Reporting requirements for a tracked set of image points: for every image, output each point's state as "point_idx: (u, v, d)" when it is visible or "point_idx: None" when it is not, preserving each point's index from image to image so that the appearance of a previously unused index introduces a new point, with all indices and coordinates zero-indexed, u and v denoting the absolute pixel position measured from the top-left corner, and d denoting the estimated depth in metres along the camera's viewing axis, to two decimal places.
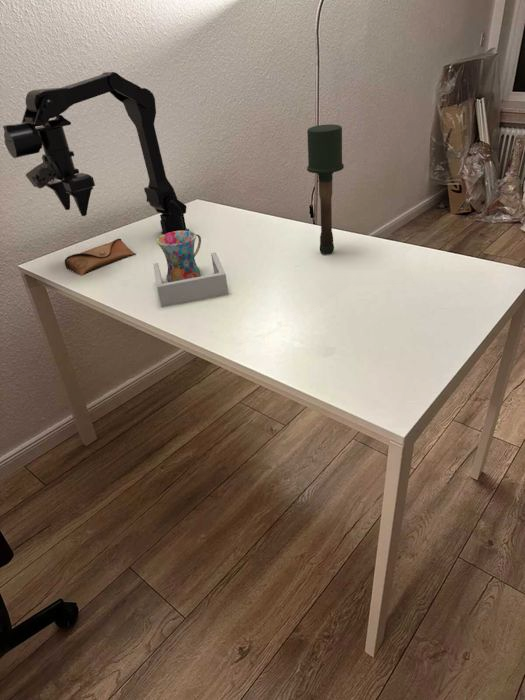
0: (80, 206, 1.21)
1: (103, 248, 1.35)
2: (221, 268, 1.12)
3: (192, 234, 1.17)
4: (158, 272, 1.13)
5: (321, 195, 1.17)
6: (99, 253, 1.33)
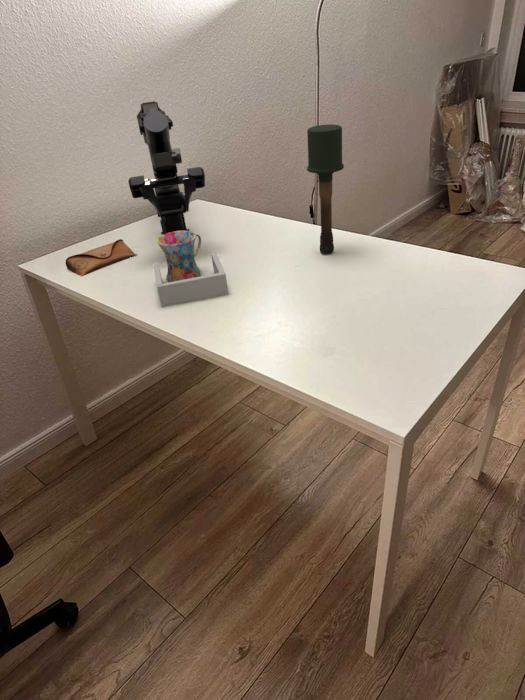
0: (189, 199, 1.22)
1: (104, 249, 1.34)
2: (221, 268, 1.12)
3: (192, 234, 1.17)
4: (158, 272, 1.13)
5: (321, 195, 1.17)
6: (100, 254, 1.33)
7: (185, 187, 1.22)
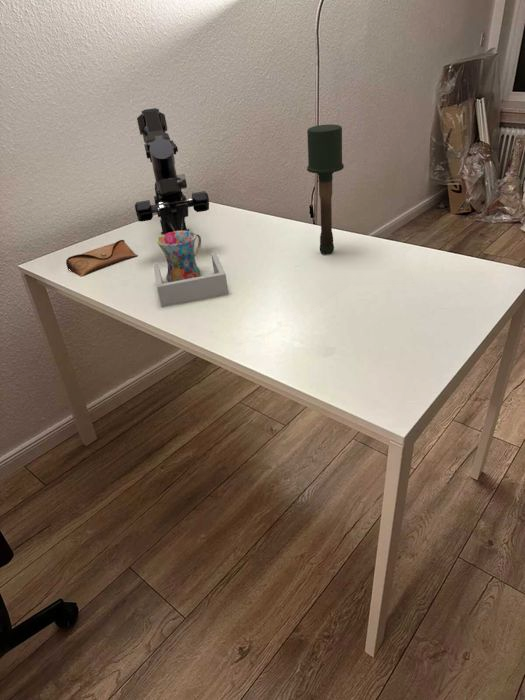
0: (181, 224, 1.25)
1: (105, 249, 1.34)
2: (221, 268, 1.12)
3: (192, 234, 1.17)
4: (158, 272, 1.13)
5: (321, 195, 1.17)
6: (100, 254, 1.32)
7: (178, 213, 1.25)
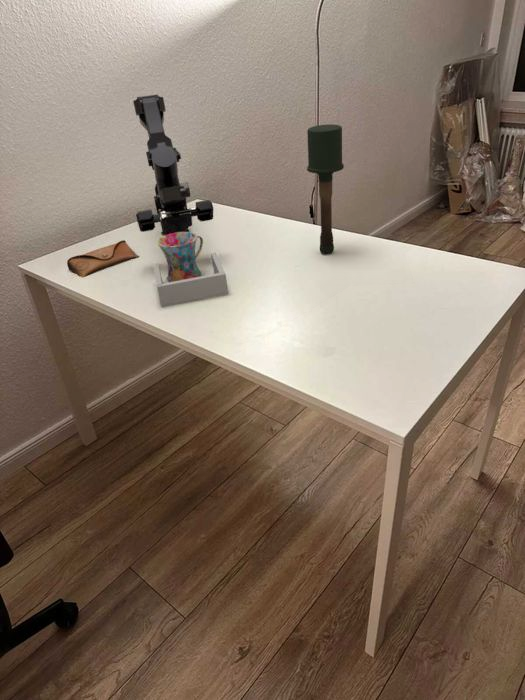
0: None
1: (106, 250, 1.33)
2: (221, 268, 1.12)
3: (193, 236, 1.16)
4: (158, 272, 1.13)
5: (321, 195, 1.17)
6: (102, 255, 1.32)
7: (181, 223, 1.20)
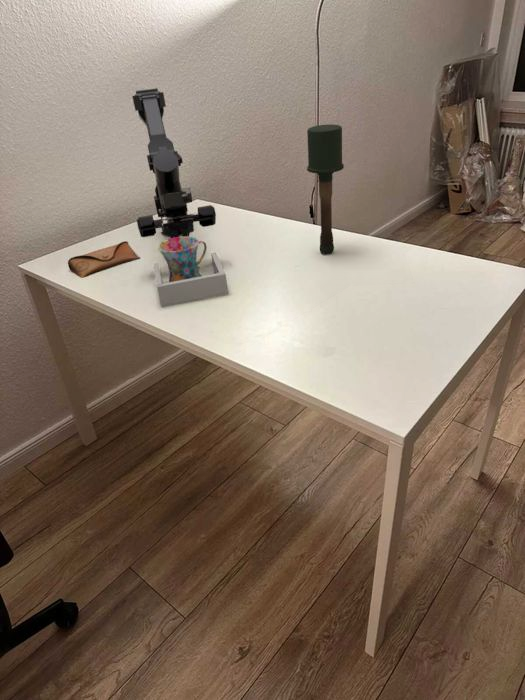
0: None
1: (107, 251, 1.33)
2: (221, 268, 1.12)
3: (195, 241, 1.13)
4: (158, 272, 1.13)
5: (321, 195, 1.17)
6: (102, 256, 1.31)
7: (182, 229, 1.17)
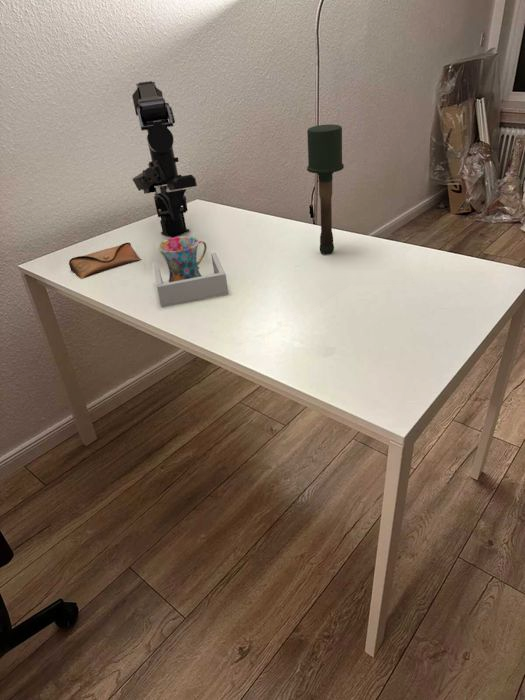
0: (173, 209, 1.24)
1: (108, 252, 1.32)
2: (221, 268, 1.12)
3: (195, 241, 1.13)
4: (158, 272, 1.13)
5: (321, 195, 1.17)
6: (103, 257, 1.31)
7: (166, 198, 1.23)
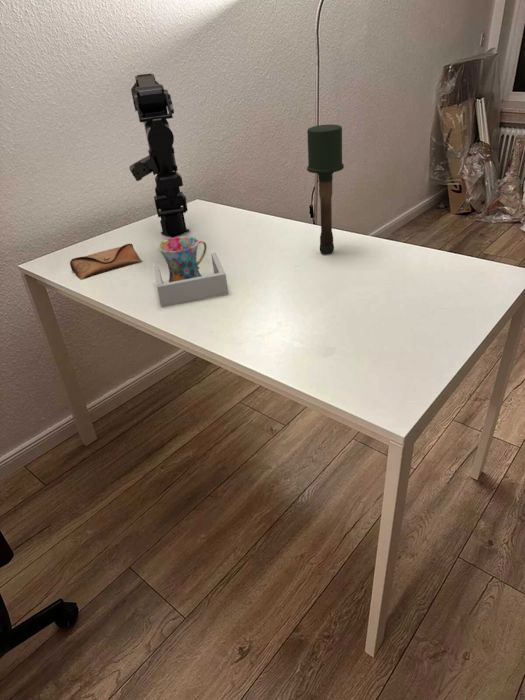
0: (168, 198, 1.25)
1: (109, 253, 1.31)
2: (221, 268, 1.12)
3: (195, 241, 1.13)
4: (158, 272, 1.13)
5: (321, 195, 1.17)
6: (103, 258, 1.30)
7: None
